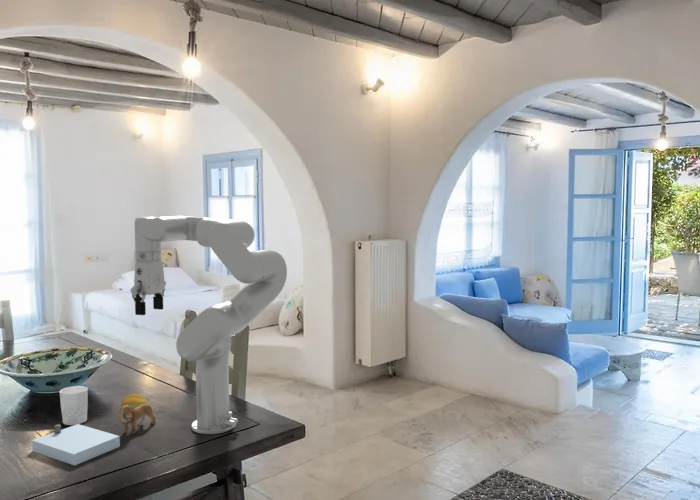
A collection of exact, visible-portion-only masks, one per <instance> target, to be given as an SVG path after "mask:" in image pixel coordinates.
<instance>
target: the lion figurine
mask: <svg viewBox="0 0 700 500" xmlns="http://www.w3.org/2000/svg"><path fill="white" fill-rule="evenodd" d="M117 412H118V413H117V415H118V420H119V421H120V424H122V425H124V430H123V432H122V433H124V434H126V433H128V431H129V425H131V432H130V433H131V434H136V432H137V430H136V422H137V421H138V420H140V422H139V423H137V426H139V427H141V426H142V425H143V423H144V421H145V420H146V418H145V417H146V416H147V417H148V418H150V419H151V420H152V421H151V423H150V424H151V425H155V424H156V417H155V415H154V413H153V409H152V406H151V404H149V403H148V404H141V405H140V406H138V407H136V408H132V407H131V406H129V405H123V406H122V407H121V406H120V407H119V409H118V411H117Z"/></svg>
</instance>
